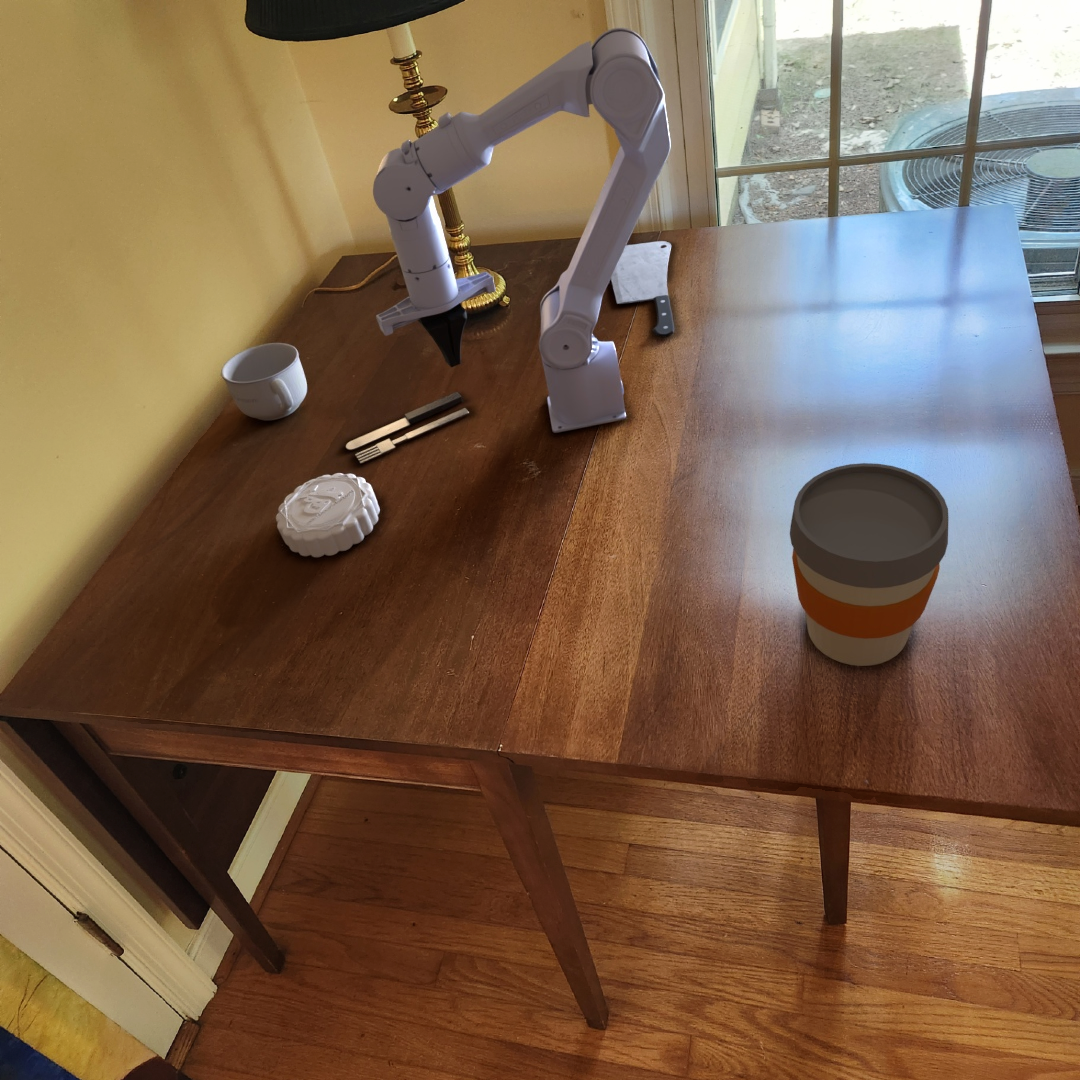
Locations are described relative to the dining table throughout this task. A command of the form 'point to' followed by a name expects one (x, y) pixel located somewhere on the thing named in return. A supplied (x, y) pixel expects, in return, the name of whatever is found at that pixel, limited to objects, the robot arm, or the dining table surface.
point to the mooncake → (327, 515)
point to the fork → (407, 437)
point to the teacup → (266, 380)
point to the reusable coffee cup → (866, 558)
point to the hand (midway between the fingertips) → (453, 362)
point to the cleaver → (645, 280)
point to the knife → (406, 420)
